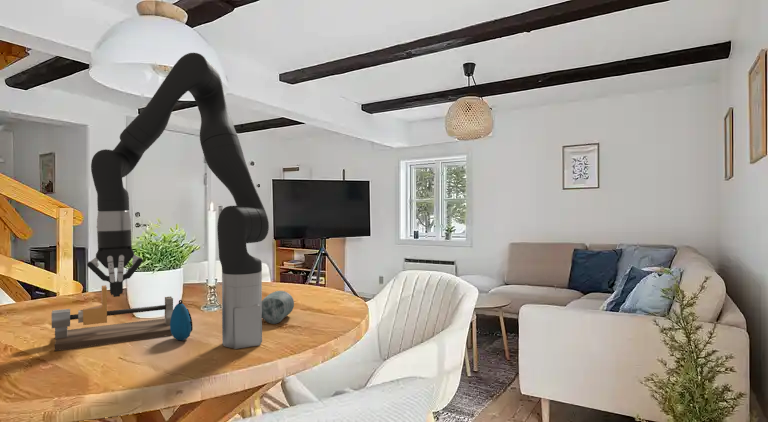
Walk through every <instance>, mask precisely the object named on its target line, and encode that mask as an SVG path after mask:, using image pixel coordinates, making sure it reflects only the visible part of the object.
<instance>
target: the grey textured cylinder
mask: <svg viewBox="0 0 768 422" xmlns="http://www.w3.org/2000/svg"><path fill="white" fill-rule="evenodd" d="M294 307H295V301H294V298H293V296H292V295H291V294H290V293H289V292H287V291H285V290H276V291H273V292H271V293H269V294H268V295H266V296H265V297H264V298H262V320H264V321H265V322H266V323H268V324H271V325H272V324H273V325H276V324H279V323H280V322H282V321H283V320H284V318H286V317H287V316H289V315H290V314H291V313H292V311H293V310H294Z"/></svg>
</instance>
